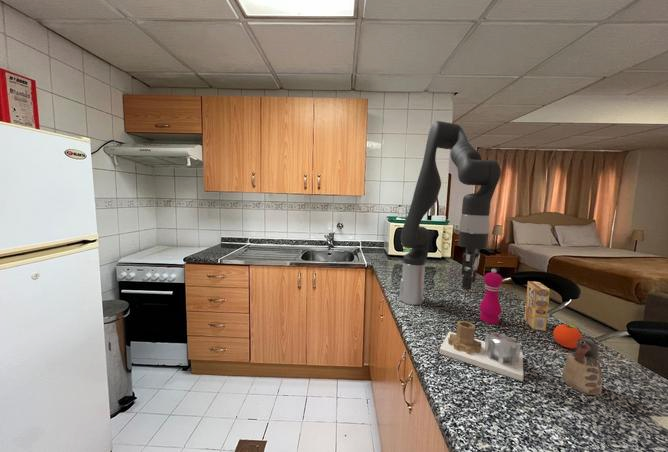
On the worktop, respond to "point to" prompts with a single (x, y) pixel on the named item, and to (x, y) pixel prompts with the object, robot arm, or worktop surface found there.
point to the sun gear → (502, 348)
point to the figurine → (584, 368)
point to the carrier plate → (483, 359)
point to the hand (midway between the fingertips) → (468, 285)
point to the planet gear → (465, 338)
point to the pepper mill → (491, 298)
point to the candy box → (537, 305)
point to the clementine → (567, 335)
